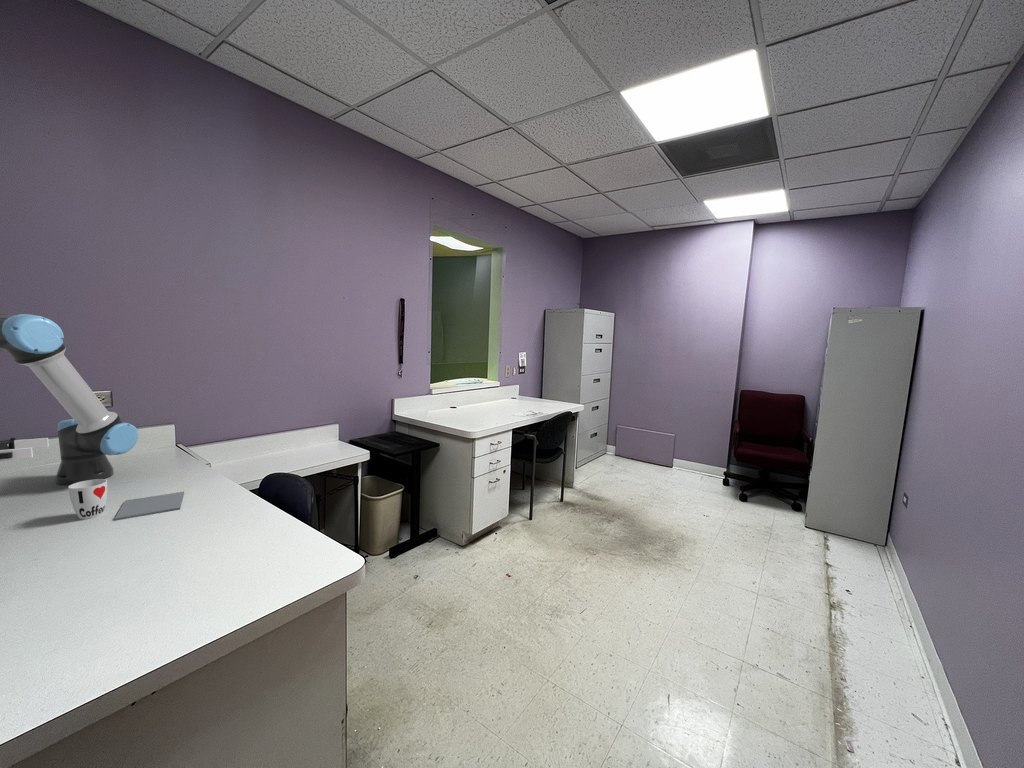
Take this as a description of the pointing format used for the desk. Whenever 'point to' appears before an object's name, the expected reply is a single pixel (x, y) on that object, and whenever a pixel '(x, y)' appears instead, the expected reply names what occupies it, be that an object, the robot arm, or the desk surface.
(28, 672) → the desk surface
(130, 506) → the mat
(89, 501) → the cup
